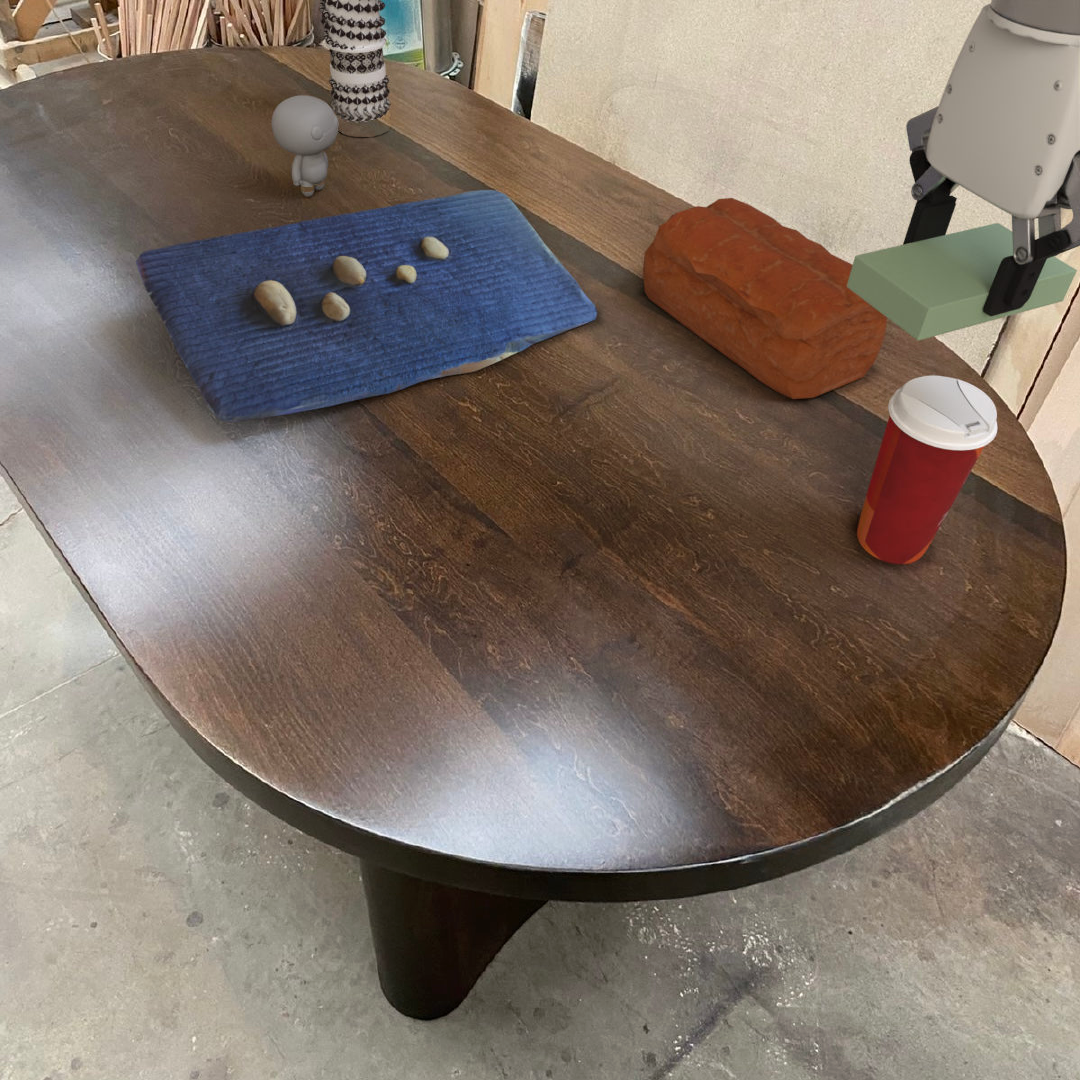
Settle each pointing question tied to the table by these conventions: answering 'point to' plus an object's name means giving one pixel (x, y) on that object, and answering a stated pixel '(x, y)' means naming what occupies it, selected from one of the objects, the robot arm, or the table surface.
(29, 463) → the table surface
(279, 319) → the mat
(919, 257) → the sage green foam block
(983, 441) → the coffee cup
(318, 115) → the figurine
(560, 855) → the table surface
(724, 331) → the bread
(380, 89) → the decorative candle
